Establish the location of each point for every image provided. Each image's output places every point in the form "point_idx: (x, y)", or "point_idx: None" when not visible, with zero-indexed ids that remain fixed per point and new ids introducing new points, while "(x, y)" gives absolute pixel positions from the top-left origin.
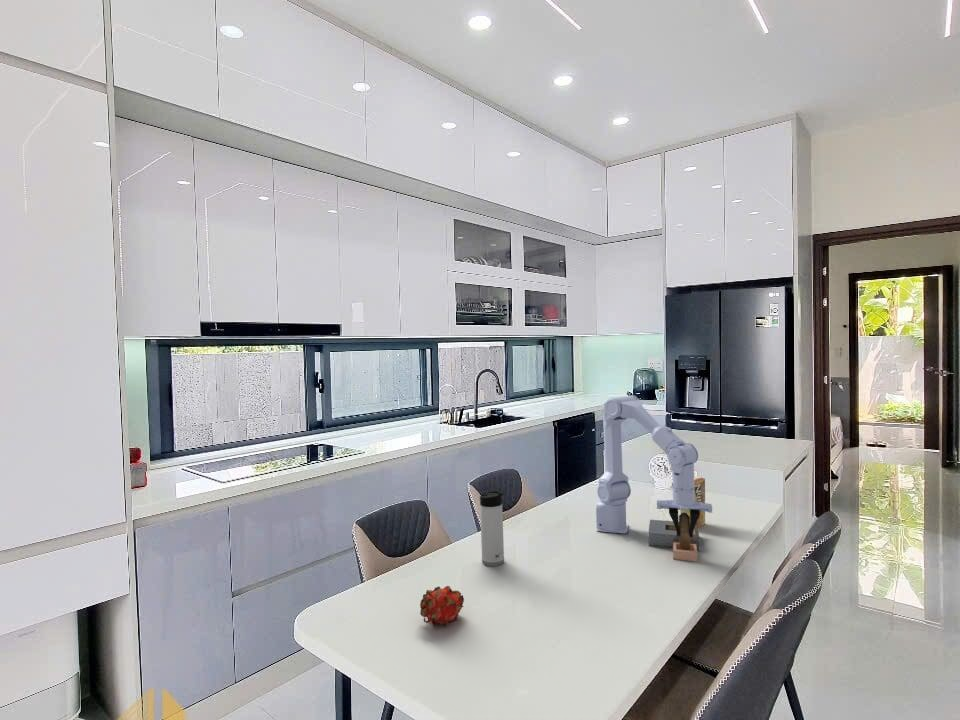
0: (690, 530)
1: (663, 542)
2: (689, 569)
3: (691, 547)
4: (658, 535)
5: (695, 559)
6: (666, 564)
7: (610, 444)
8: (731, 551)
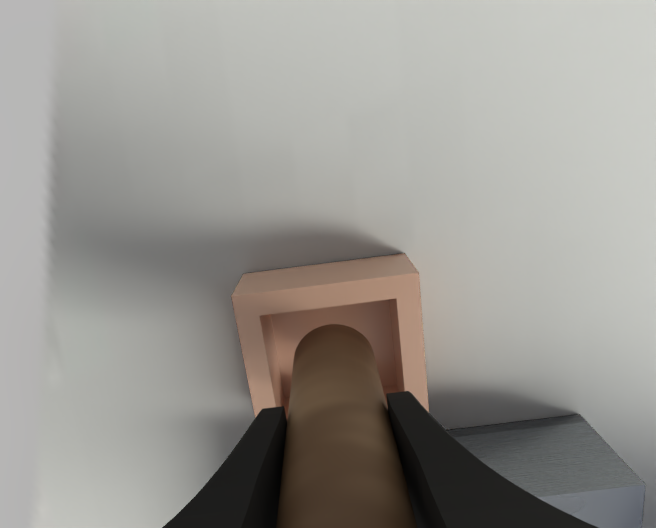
0: (267, 443)
1: (495, 449)
2: (275, 109)
3: None
4: (554, 482)
5: (253, 276)
6: (445, 138)
7: None
8: (74, 508)
